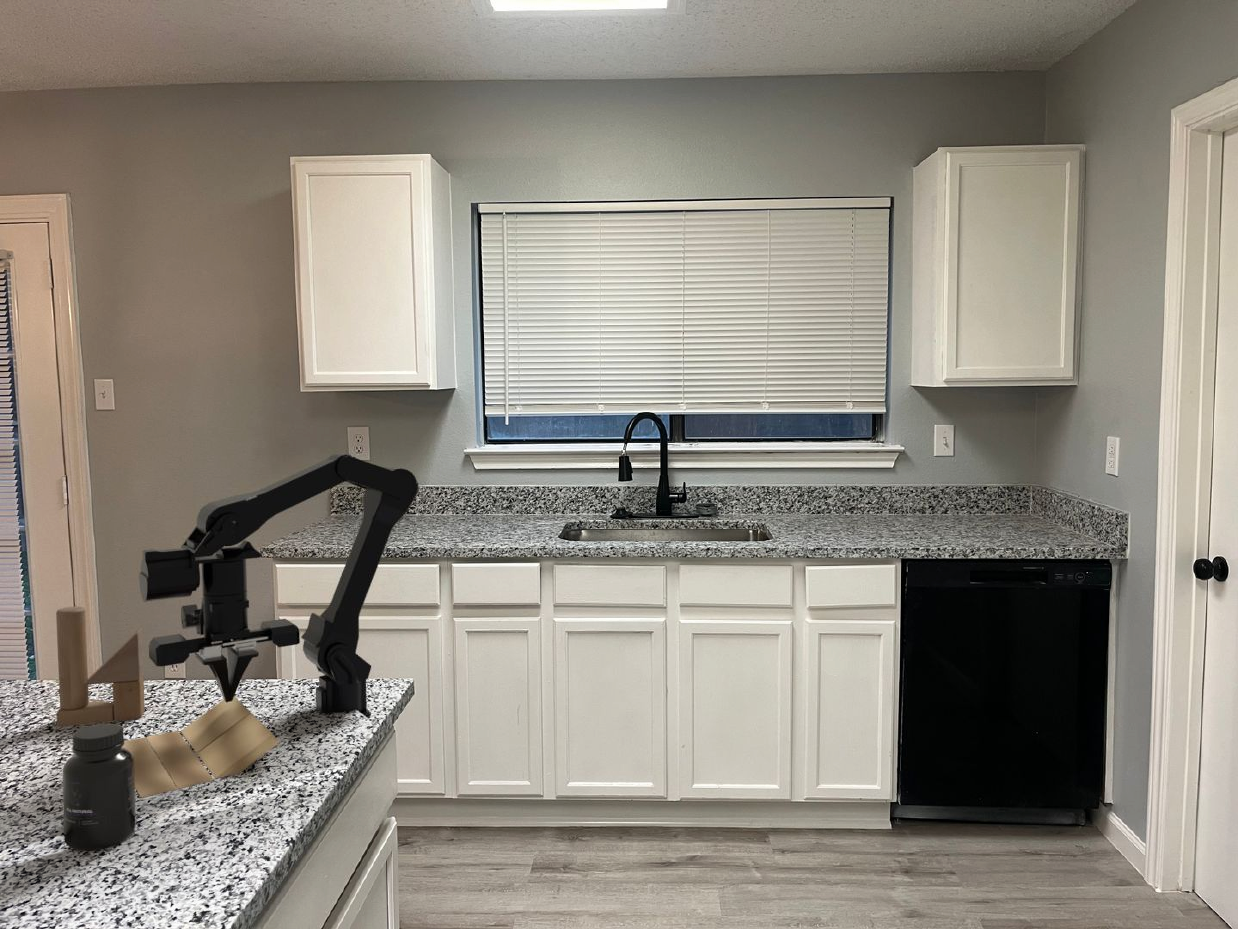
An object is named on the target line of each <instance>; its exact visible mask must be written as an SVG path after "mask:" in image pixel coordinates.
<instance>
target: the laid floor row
mask: <svg viewBox="0 0 1238 929" xmlns="http://www.w3.org/2000/svg"><path fill="white" fill-rule="evenodd" d="M122 747H123V748H126V749H127V750H129V751H130V752H131V753H132V755H133V756H134V768H135V790H136V791H137V793H138V794H139V795H138V796H139V797H140V799H143V798H147V797H150V796H151V797H152V796H154V795H159V794H164V793H167V792H171V791H176V790H180V789H184V788H189V787H192V786H197V785H201V784H204V783H209V782H214V781H215V779H214V778H213V777H212V775H211V774H210V773H209V771H208V770H207V768H206V767H205V765H204V764H203V762H201V759H199V758H198V755H196V754H195V752H194V751H193V749H192V748H191V747H190V746H189V744H188V743H187V740H185V739H184V736H182V734H181V733H180V732H179V731H178V730H175V731H170V732H164V733H160V734H154V735H150V736H144V737H139V738H135V739H130V740H124V745H123V746H122Z"/></svg>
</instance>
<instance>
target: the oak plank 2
mask: <svg viewBox="0 0 1238 929" xmlns="http://www.w3.org/2000/svg"><path fill="white" fill-rule="evenodd" d="M279 743H280V741H278V739H277V738H276V736H275V735H274V734H273V732H272V731H270V730H269V728H267V727H266V726H265V725H264V723H262V721H261V720H260V719H258V718H257V717H256V716H255V714H253V713H252V712H251V714H250V715H248V716H247V717H246V718H244V719H243V720H242V721H240V722H239V723H238V724H236V725H235V726H234V727H232V728H231V729H230V730H228V731H227V732H226V733H224V734H223V735H222V736H220V737H219V738H218V739H216V740H215V741H214V742H212V743H211V744H210V745H208V746H207V747H206V748H204V749H203V750H202V751H200V752H198V753H197V756H198V757H200V760H201V761H203V762H202V763H204V766H206V767H207V769H208V770H209V771H210V773H211V774H212V775H213V777H214V778H215V779H219V778H222V777H228V776H232V775H236V774H237V775H238V774H240V773H241V772H243V771H244V770H246V769H247V768H248V767H250V766H251V765H252V764H253V763H255V762H256V761H257V760H258V759H260V758H261V757H262V756H264V755H265V754H266V753H268V752H269V751H270V750H271V749H273V747H275V746H276V745H278V744H279Z"/></svg>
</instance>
